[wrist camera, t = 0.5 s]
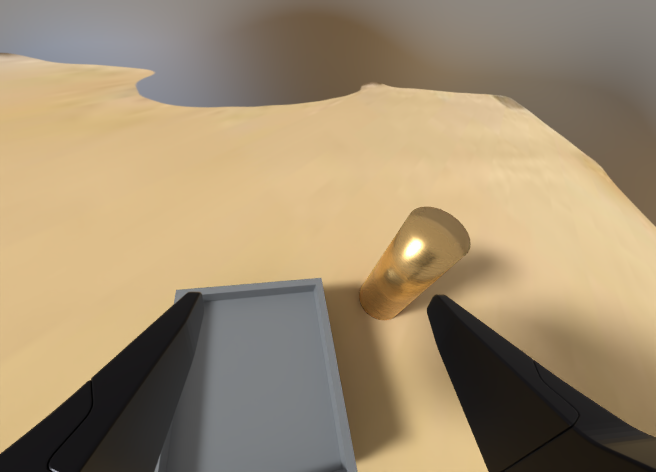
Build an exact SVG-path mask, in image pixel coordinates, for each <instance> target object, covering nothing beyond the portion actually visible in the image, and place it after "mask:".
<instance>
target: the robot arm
mask: <svg viewBox="0 0 656 472" xmlns="http://www.w3.org/2000/svg"><path fill="white" fill-rule="evenodd" d="M203 315H204V303H203V297H202V293H201V292H188V293H186V294H185V295H184V296H183V297H182V298H180V299H179V300H178V301H177V302H176V303H175V304H174V305H173V306H172V307H170V308H169V309H168V310H167V311H166V312H165V313H164V314H163V315H161V316H160V317H159V318H158V319H157V320H156V321H155V322H154V323H153V324H151V325H150V326H149V327H148V328H147V329H146V330H145V331H144V332H142V333H141V334H140V335H139V336H138V337H137V338H136V339H135V340H134V341H132V342H131V343H130V344H129V345H128V346H127V347H126V348H125V349H123V350H122V351H121V352H120V353H119V354H118V355H117V356H116V357H114V358H113V359H112V360H111V361H110V362H109V363H108V364H107V365H106V366H104V367H103V368H102V369H101V370H100V371H99V372H98V373H97V374H95V375H94V376H93V377H92V378H91V380H89V381H87V382H86V383H85V384H84V385H83V386H82V387H81V388H80V389H79V390H77V391H76V392H75V393H74V394H73V395H72V396H71V397H69V398H68V399H67V400H66V401H65V402H64V403H62V404H61V405H60V406H59V407H58V408H57V409H55V410H54V411H53V412H52V413H51V414H50V415H48V416H47V417H46V418H45V419H43V420H42V421H41V422H40V423H38V424H37V425H36V426H35V427H33V428H32V429H31V430H30V431H29V432H27V433H26V434H25V435H24V436H22V437H21V438H20V439H19V440H17V441H16V442H15V443H13V444H12V445H11V446H10V447H8V448H7V449H6V450H5V451H3V452H2V453H1V454H0V472H154V471H155V468H156V466H157V463H158V460H159V457H160V454H161V451H162V448H163V445H164V442H165V440H166V437H167V434H168V431H169V428H170V425H171V422H172V419H173V417H174V414H175V411H176V408H177V405H178V402H179V399H180V396H181V394H182V391H183V388H184V385H185V382H186V379H187V376H188V373H189V371H190V368H191V365H192V362H193V359H194V355H195V351H196V347H197V342H198V338H199V333H200V329H201V324H202V320H203ZM427 315H428V318H429V321H430V324H431V328H432V331H433V334H434V338H435V341H436V344H437V347H438V350H439V352H440V355H441V357H442V360H443V362H444V365H445V367H446V370H447V372H448V374H449V377H450V379H451V382H452V384H453V386H454V389H455V391H456V394H457V396H458V399H459V401H460V403H461V406H462V408H463V411H464V413H465V416H466V418H467V420H468V423H469V425H470V428H471V430H472V433H473V435H474V437H475V440H476V442H477V445H478V447H479V449H480V452H481V454H482V457H483V459H484V462H485V464H486V466H487V469H488V471H489V472H656V437H653V436H651V435H648V434H646V433H644V432H642V431H640V430H638V429H636V428H634V427H632V426H630V425H629V424H627V423H626V422H624V421H622V420H621V419H619V418H618V417H616V416H615V415H613V414H612V413H610V412H609V411H607V410H606V409H604V408H603V407H601V406H600V405H598V404H597V403H595V402H594V401H592V400H591V399H589V398H588V397H586V396H585V395H583V394H582V393H580V392H579V391H577V390H576V389H574V388H573V387H571V386H570V385H568V384H567V383H565V382H564V381H562V380H561V379H559V378H558V377H557V376H555V375H554V374H552V373H551V372H550V371H548V370H547V369H545V368H544V367H543V366H541V365H540V364H539V363H537V362H536V361H534V360H532V358H530V357H529V356H528V355H526V354H525V353H524V352H522V351H521V350H519V349H518V348H517V347H515V346H514V345H513V344H511V343H510V342H509V341H507V340H506V339H504V338H503V337H502V336H500V335H499V334H498V333H496V332H495V331H494V330H492V329H491V328H489V327H488V326H487V325H485V324H484V323H483V322H481V321H480V320H479V319H477V318H476V317H474V316H473V315H472V314H470V313H469V312H468V311H466V310H465V309H464V308H462V307H461V306H459V305H458V304H457V303H455V302H454V301H453V300H451V299H450V298H448V297H447V296H446V295H434V296H433V298H432V300H431V302H430V304H429V305H428V308H427Z"/></svg>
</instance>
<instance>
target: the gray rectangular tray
mask: <svg viewBox="0 0 656 472" xmlns="http://www.w3.org/2000/svg"><path fill="white" fill-rule="evenodd" d="M188 292H201V293H202V297H203V303H204V315H203V320H202V324H201V329H200V333H199V338H198V342H197V347H196V351H195V355H194V359H193V362H192V365H191V368H190V371H189V373H188V376H187V379H186V382H185V385H184V388H183V391H182V394H181V396H180V399H179V402H178V405H177V408H176V411H175V414H174V417H173V419H172V422H171V425H170V428H169V431H168V434H167V437H166V440H165V442H164V445H163V448H162V451H161V454H160V457H159V460H158V463H157V466H156V468H155V471H154V472H357V467H356V461H355V456H354V451H353V445H352V440H351V435H350V429H349V424H348V419H347V413H346V408H345V402H344V397H343V392H342V386H341V381H340V376H339V370H338V365H337V359H336V354H335V349H334V343H333V338H332V333H331V327H330V322H329V317H328V311H327V306H326V300H325V295H324V290H323V284H322V279H321V278H315V279H303V280H291V281H279V282H267V283H255V284H243V285H231V286H219V287H207V288H195V289H183V290H176V295H175V301H174V304H175V303H176V302H177V301H178V300H179V299H180V298H182V297H183V296H184V295H185V294H186V293H188Z"/></svg>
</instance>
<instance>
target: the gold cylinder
mask: <svg viewBox="0 0 656 472" xmlns="http://www.w3.org/2000/svg"><path fill="white" fill-rule="evenodd" d="M469 249H470V238H469V235H468V233H467V231H466V229H465V228H464V226H463V225H462V224H461V223H460V222H459V221H458V220H457V219H456V218H455V217H453V216H452V215H450V214H449V213H447V212H445V211H443V210H441V209H438V208H434V207H420V208H417V209H415V210H413V211H412V212H411V213H410V215H409V216H408V218H407V219H406V221H405V222H404V224H403V225H402V227H401V228H400V230H399V231H398V233H397V234H396V236H395V237H394V239H393V240H392V242H391V243H390V245H389V246H388V248H387V249H386V251H385V252H384V254H383V255H382V257H381V258H380V260H379V261H378V263H377V264H376V266H375V267H374V269H373V270H372V272H371V273H370V275H369V276H368V278H367V279H366V281H365V282H364V284H363V285H362V287H361V289H360V293H359V298H360V302H361V305H362V307H363V308H364V310H365V311H366V312H367V313H368V314H369V315H370V316H372V317H374V318H376V319H379V320H389V319H392V318H394V317H395V316H396V315H397V314H398V313H400V312H401V311H402V310H403V309H404V308H405V307H406V306H408V305H409V304H410V303H411V302H412V301H413V300H414V299H416V298H417V297H418V296H419V295H420V294H421V293H422V292H424V291H425V290H426V289H427V288H428V287H429V286H430V285H432V284H433V283H434V282H435V281H436V280H437V279H438V278H440V277H441V276H442V275H443V274H444V273H445V272H446V271H448V270H449V269H450V268H451V267H452V266H453V265H454V264H455V263H457V262H458V261H459V260H460V259H461V258H462V257H463V256H465V255H466V254H467V253H468V251H469Z"/></svg>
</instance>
